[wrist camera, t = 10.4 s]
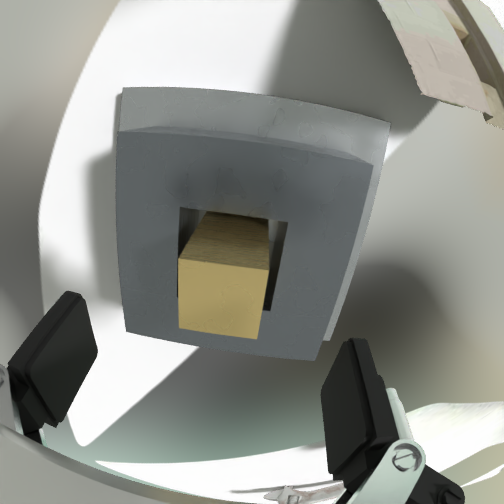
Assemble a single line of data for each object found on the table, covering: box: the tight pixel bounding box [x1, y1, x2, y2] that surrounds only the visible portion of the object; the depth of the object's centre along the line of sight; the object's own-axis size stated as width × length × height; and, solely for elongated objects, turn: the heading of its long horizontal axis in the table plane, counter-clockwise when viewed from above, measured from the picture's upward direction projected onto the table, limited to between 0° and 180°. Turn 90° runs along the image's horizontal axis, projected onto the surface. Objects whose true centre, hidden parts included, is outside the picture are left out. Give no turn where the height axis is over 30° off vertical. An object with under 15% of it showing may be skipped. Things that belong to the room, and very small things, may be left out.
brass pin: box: [178, 210, 269, 339], centre depth 18 cm, size 4×4×10 cm
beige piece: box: [377, 0, 504, 129], centre depth 15 cm, size 16×9×15 cm
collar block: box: [116, 87, 391, 361], centre depth 21 cm, size 20×20×7 cm
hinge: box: [386, 388, 414, 441], centre depth 30 cm, size 14×5×10 cm, turn 20°
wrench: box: [263, 483, 345, 504], centre depth 44 cm, size 8×2×30 cm
